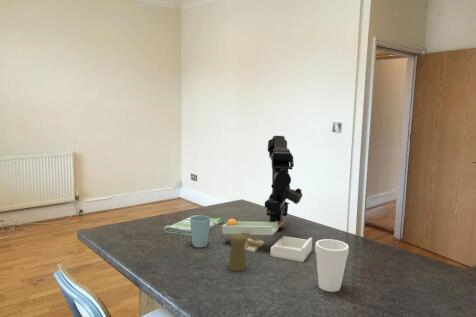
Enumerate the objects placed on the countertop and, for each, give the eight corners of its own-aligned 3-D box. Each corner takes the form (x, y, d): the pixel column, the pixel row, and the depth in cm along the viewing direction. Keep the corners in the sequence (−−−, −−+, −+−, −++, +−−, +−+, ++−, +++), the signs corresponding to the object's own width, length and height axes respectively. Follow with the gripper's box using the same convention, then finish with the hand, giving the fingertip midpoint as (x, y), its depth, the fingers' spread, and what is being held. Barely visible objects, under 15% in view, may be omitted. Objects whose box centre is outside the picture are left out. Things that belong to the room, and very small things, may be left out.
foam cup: (339, 297, 107) (342, 253, 105) (308, 288, 112) (311, 246, 110) (349, 284, 115) (352, 243, 113) (319, 276, 120) (322, 237, 118)
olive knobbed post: (248, 265, 128) (249, 233, 126) (243, 272, 122) (244, 239, 120) (231, 262, 129) (232, 231, 128) (225, 269, 124) (226, 236, 122)
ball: (229, 227, 150) (229, 217, 150) (239, 227, 149) (238, 217, 148) (225, 230, 147) (224, 219, 146) (234, 230, 145) (234, 220, 145)
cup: (205, 240, 150) (205, 214, 149) (213, 246, 144) (214, 219, 142) (186, 243, 146) (187, 216, 145) (194, 249, 140) (195, 222, 138)
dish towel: (162, 232, 160) (162, 224, 159) (191, 218, 180) (191, 211, 180) (197, 239, 153) (197, 230, 152) (223, 224, 173) (224, 216, 173)
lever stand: (245, 239, 152) (245, 223, 151) (264, 243, 149) (264, 226, 148) (234, 248, 142) (234, 231, 141) (254, 252, 139) (254, 234, 138)
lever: (239, 222, 161) (239, 215, 160) (285, 222, 152) (284, 215, 152) (222, 233, 146) (221, 226, 146) (272, 234, 137) (271, 226, 137)
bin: (280, 245, 147) (281, 232, 146) (311, 250, 142) (312, 237, 141) (270, 256, 136) (270, 242, 135) (303, 262, 131) (304, 248, 130)
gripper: (294, 188, 137) (292, 230, 139) (306, 180, 154) (305, 217, 156) (264, 185, 141) (263, 226, 143) (280, 177, 158) (278, 214, 160)
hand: (278, 221), depth 151 cm, fingers closed
